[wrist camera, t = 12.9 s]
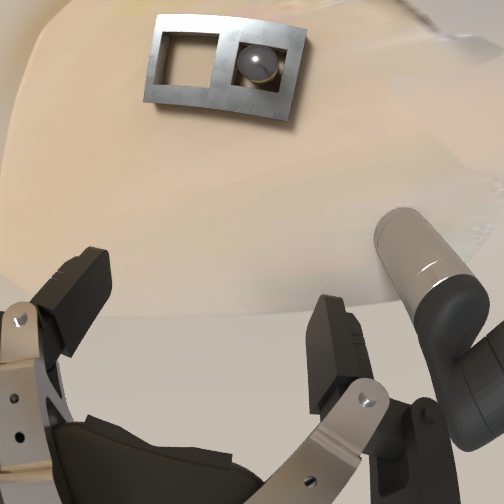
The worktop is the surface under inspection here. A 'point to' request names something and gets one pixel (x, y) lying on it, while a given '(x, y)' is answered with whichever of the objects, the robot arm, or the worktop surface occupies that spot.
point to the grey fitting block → (226, 64)
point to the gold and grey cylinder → (258, 63)
